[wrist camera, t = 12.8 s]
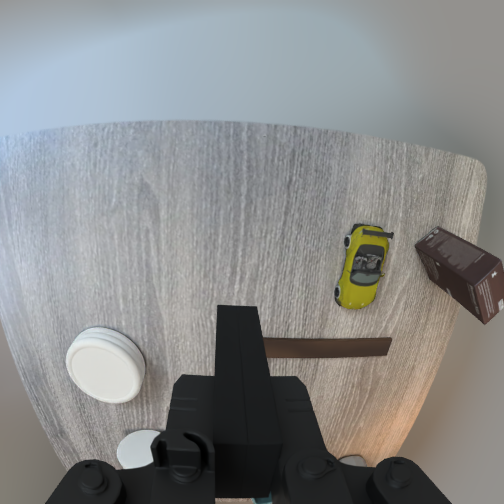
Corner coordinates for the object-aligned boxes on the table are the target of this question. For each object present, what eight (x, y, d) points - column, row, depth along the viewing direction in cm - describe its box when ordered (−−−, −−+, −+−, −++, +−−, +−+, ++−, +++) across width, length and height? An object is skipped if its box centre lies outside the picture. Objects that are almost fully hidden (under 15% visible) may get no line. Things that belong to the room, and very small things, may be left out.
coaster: (144, 395, 38) (139, 413, 35) (76, 377, 37) (68, 393, 34) (148, 336, 36) (142, 353, 32) (72, 316, 34) (61, 331, 31)
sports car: (329, 305, 36) (337, 318, 33) (347, 220, 33) (358, 227, 30) (368, 307, 37) (378, 319, 34) (387, 226, 34) (400, 233, 31)
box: (411, 246, 35) (474, 286, 23) (437, 225, 34) (504, 256, 23) (427, 282, 36) (485, 327, 25) (452, 261, 36) (512, 299, 24)
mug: (173, 428, 41) (165, 494, 29) (189, 465, 44) (186, 524, 32) (122, 428, 40) (105, 489, 29) (143, 465, 43) (133, 520, 32)
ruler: (220, 335, 36) (220, 337, 36) (390, 337, 38) (392, 339, 38) (219, 353, 37) (219, 355, 36) (385, 353, 39) (386, 355, 39)
